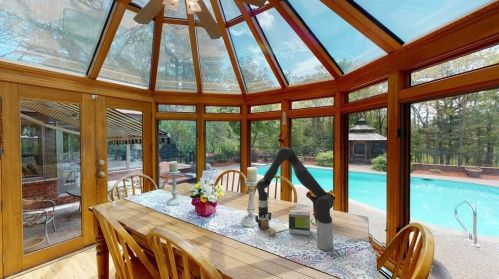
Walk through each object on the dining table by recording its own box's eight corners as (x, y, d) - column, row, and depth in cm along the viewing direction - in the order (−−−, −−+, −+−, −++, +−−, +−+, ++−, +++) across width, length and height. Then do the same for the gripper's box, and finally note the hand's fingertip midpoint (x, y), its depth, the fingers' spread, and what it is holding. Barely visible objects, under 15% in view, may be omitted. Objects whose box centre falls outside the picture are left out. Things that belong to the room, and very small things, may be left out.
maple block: (275, 235, 166) (275, 229, 166) (271, 236, 163) (271, 231, 163) (270, 233, 169) (270, 228, 169) (267, 235, 166) (267, 229, 166)
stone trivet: (289, 229, 175) (289, 228, 175) (276, 232, 169) (276, 231, 169) (280, 223, 185) (280, 222, 185) (267, 226, 180) (267, 225, 180)
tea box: (310, 230, 173) (310, 210, 173) (309, 235, 164) (309, 215, 163) (290, 227, 178) (290, 209, 177) (288, 233, 168) (288, 213, 167)
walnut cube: (268, 228, 177) (268, 221, 176) (262, 230, 174) (261, 222, 174) (264, 225, 182) (264, 218, 182) (258, 227, 179) (258, 219, 179)
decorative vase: (339, 228, 175) (337, 192, 174) (308, 227, 180) (306, 192, 179) (334, 217, 195) (332, 185, 195) (306, 217, 200) (305, 186, 199)
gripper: (257, 208, 171) (257, 230, 171) (273, 205, 177) (273, 226, 178) (252, 205, 177) (253, 226, 178) (268, 202, 184) (268, 223, 184)
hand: (263, 226), depth 178 cm, fingers closed on walnut cube, 6 cm apart
